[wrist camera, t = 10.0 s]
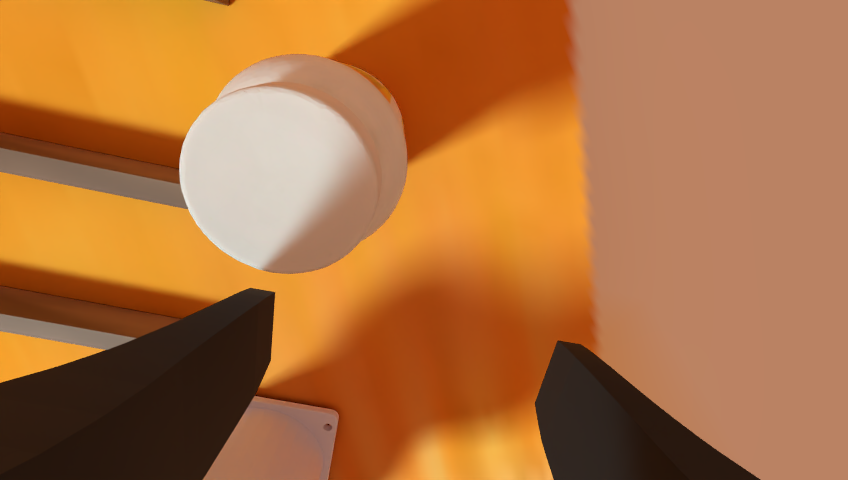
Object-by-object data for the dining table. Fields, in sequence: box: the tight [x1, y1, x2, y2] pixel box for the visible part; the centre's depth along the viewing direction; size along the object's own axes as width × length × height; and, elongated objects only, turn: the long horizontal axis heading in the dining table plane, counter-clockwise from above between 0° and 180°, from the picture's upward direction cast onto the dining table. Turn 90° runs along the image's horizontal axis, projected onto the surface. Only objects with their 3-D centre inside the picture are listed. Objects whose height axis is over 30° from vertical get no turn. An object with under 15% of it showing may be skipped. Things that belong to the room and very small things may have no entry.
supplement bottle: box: [179, 54, 407, 274], centre depth 13 cm, size 5×5×10 cm
